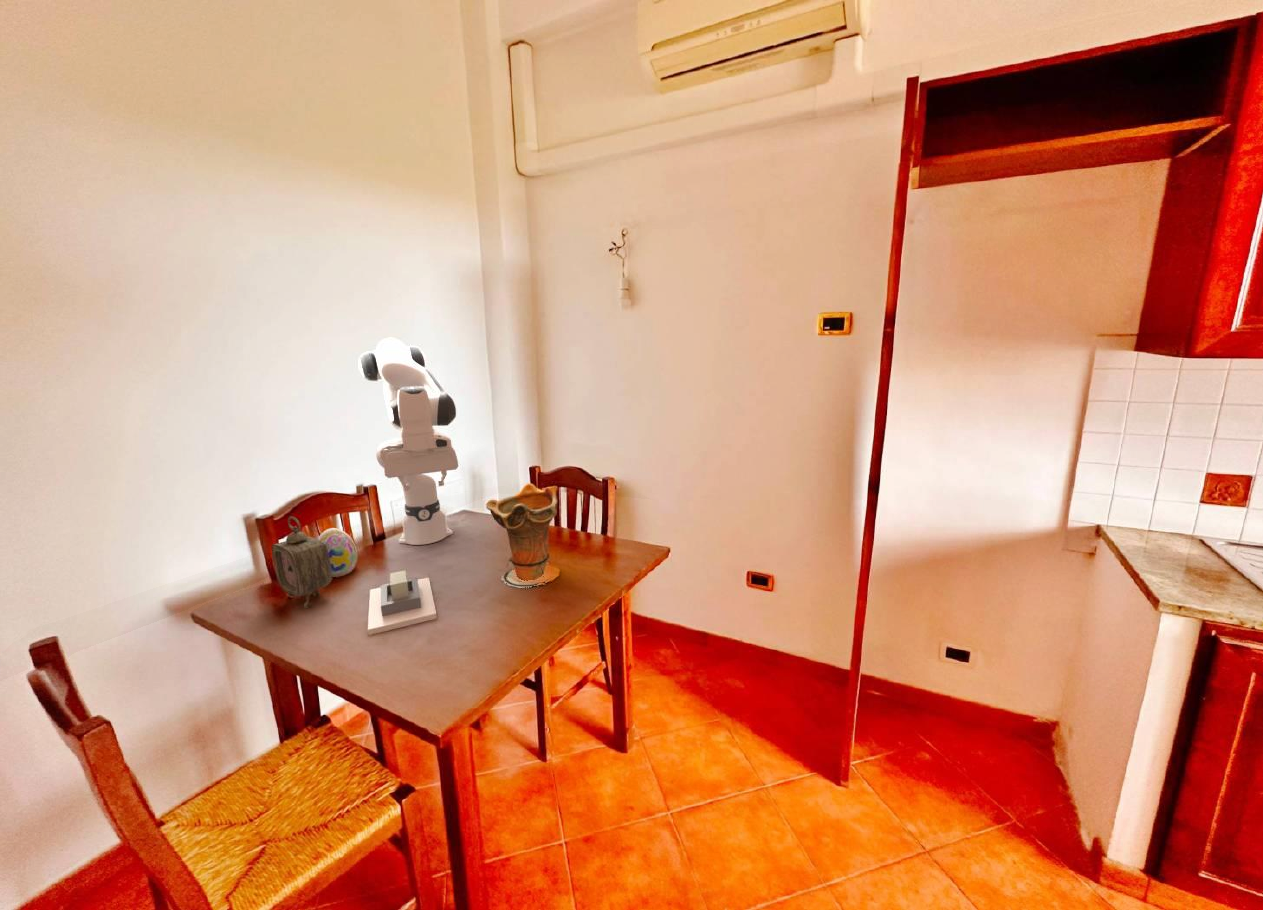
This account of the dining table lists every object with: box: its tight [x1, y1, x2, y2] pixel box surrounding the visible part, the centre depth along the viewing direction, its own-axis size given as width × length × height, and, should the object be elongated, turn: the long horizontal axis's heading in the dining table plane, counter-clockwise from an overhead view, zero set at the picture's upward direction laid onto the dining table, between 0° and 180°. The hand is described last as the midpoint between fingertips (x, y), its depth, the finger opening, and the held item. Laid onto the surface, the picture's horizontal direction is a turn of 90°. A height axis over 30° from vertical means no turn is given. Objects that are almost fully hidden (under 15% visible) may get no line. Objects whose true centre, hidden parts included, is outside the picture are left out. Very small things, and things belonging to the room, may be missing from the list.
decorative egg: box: [317, 527, 358, 578], centre depth 159 cm, size 12×12×15 cm
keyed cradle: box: [367, 577, 438, 636], centre depth 138 cm, size 24×16×4 cm, turn 26°
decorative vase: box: [485, 482, 559, 589], centre depth 151 cm, size 21×23×28 cm
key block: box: [389, 570, 409, 601], centre depth 137 cm, size 4×8×7 cm, turn 26°
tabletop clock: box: [271, 516, 333, 608], centre depth 141 cm, size 14×9×25 cm, turn 56°
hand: (424, 487), depth 149 cm, fingers open, 8 cm apart
